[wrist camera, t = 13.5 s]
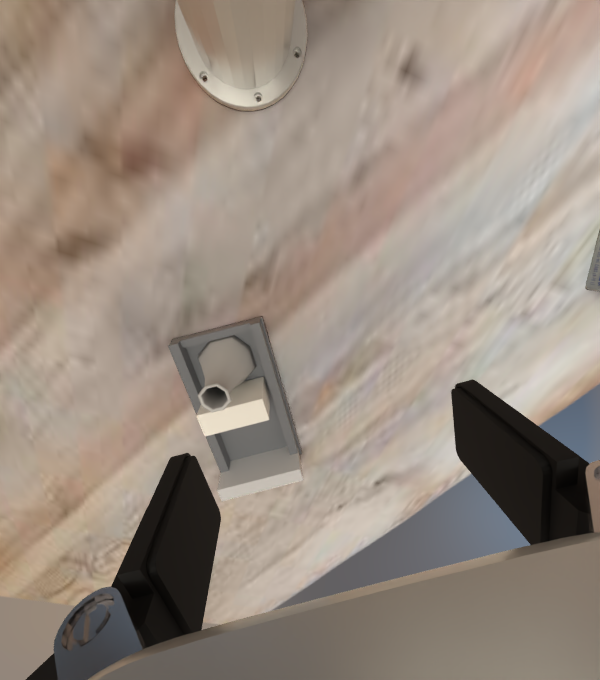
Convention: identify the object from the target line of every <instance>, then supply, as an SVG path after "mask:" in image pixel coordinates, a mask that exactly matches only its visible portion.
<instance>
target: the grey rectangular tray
mask: <svg viewBox="0 0 600 680" xmlns="http://www.w3.org/2000/svg"><path fill="white" fill-rule="evenodd" d="M232 335H234V336H236V337H237V338H238V339H240V340H241V341H243V342H244V343H245V344H247V345H248V346H250V347H251V351H252V354H253V357H254V360H255V364H256V368H255V369H254V370H253V371H252V372H251V374H250V375H249V376H248V377H247V378H246V380H245V381H248V380H252V379H256V378H260V377H264V379H265V382H266V385H267V388H268V392H269V395H270V406H269V420H267V421H263V422H260V423H256V424H252V425H248V426H244V427H240V428H236V429H232V430H228V431H225V432H221V433H217V434H213V435H209V436H206V438H207V441H208V443H209V446H210V448H211V450H212V453H213V455H214V458H215V460H216V462H217V465H218V467H219V470H220V472H221V474H220V479H219V484H218V488H217V491H218V494H219V496H220V498H221V501H226V500H230V499H233V498H237V497H241V496H245V495H249V494H253V493H257V492H261V491H265V490H268V489H272V488H276V487H280V486H284V485H288V484H292V483H296V482H300V481H303V473H302V465H301V457H300V455H301V454H302V450H301V447H300V443H299V440H298V437H297V433H296V430H295V426H294V423H293V419H292V416H291V413H290V409H289V406H288V402H287V399H286V396H285V392H284V389H283V385H282V382H281V378H280V375H279V372H278V368H277V365H276V361H275V358H274V355H273V351H272V348H271V344H270V341H269V337H268V334H267V331H266V327H265V324H264V320H263V317H262V316H261V317H257V318H254V319H250V320H246V321H242V322H238V323H234V324H230V325H226V326H222V327H218V328H215V329H211V330H207V331H203V332H199V333H195V334H191V335H187V336H183V337H180V338H176V339H172V340H171V343H170V345H169V346H168V347H169V350H170V352H171V354H172V357H173V359H174V362H175V364H176V366H177V369H178V371H179V374H180V376H181V378H182V381H183V383H184V386H185V388H186V390H187V393H188V395H189V398H190V400H191V402H192V405H193V407H194V410H195V412H196V414H197V413H198V410H199V408H200V405H201V403H200V401H199V398H198V394H199V393H200V391H201V390H202V389H203V388H204V387H205V377H204V374H203V370H202V367H201V364H200V362H199V359H198V355H199V354H200V352H201V351H202V350H203V348H204V347H205V346H206V345H207V343H208V342H209V341H213V340H217V339H221V338H225V337H228V336H232Z"/></svg>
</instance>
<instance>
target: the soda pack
mask: <svg viewBox="0 0 600 680" xmlns="http://www.w3.org/2000/svg"><path fill="white" fill-rule="evenodd" d="M585 288H586V289H587V290H594V291H599V292H600V231H599V235H598V239H597V243H596V247H595V251H594V255H593V258H592V262H591V266H590V270H589V274H588V278H587V281H586V287H585Z"/></svg>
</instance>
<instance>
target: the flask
mask: <svg viewBox="0 0 600 680" xmlns="http://www.w3.org/2000/svg"><path fill="white" fill-rule="evenodd" d="M198 359H199V362H200V364H201V367H202V370H203V374H204V377H205V387H204V388H203V389H202V390H201V391H200V393H199V394H198V398H199V401H200V403H201V406H202V407H204V408H205V409H207V410H209V411H210V412H212V413H213V412H217V411H221V410H224V409H225V408H226V407H227V406H228V404H229V403H230V402H231V400H232V399H231V396H230V392H231V390H232V389H234V388H235V387H236V386H238V385H240V384H241V383H243V382H244V381H245V380H246V378H247V377H248V376H249V375H250V374H251V372H252V371H253V370H254V369H255V368H256V364H255V360H254V357H253V354H252V351H251V347H250V346H248V345H247V344H245V343H244V342H243V341H241V340H240V339H238V338H237V337H236V336H234V335H232V336H228V337H225V338H221V339H217V340H213V341H209V342H208V343H207V345H206V346H205V347H204V348H203V350H202V351H201V352H200V354H199V355H198Z"/></svg>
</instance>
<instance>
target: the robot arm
mask: <svg viewBox="0 0 600 680" xmlns="http://www.w3.org/2000/svg"><path fill="white" fill-rule="evenodd" d="M174 17H175V31H176V36H177V40H178V45H179V48H180V51H181V53H182V56H183V59H184V61H185V63H186V65H187V67H188V69H189V71H190V73H191V74H192V76H193V77H194V79H195V80H196V82H197V83H198V85H199V86H200V87H201V88H202V89H203V90H204V91H205V92H206V93H207V94H208V95H209V96H211V97H212V98H213V99H215V100H216V101H217V102H219V103H221V104H223V105H225V106H227V107H229V108H233V109H237V110H241V111H255V110H260V109H264V108H266V107H269V106H271V105H273V104H275V103H276V102H277V101H279V100H280V99H282V98H283V97H284V96H285V95H286V94H287V93H288V91H289V90H290V89H291V88H292V86H293V85H294V83H295V81H296V80H297V78H298V76H299V74H300V71H301V68H302V66H303V62H304V58H305V53H306V46H307V38H308V37H307V19H306V13H305V8H304V4H303V1H302V0H176V2H175V13H174ZM295 55H298V56H299V58H296V57H294V56H295ZM204 78H207V79H208V80H207V81H206V82H204V81H203V79H204ZM257 98H260V99H261V102H257V101H256V99H257ZM451 394H452V406H453V418H454V431H455V443H456V451H457V454H458V457H459V458H460V460H461V461H462V462H463V464H464V465H465V466H466V467H467V468H468V470H469V471H470V472H471V473H472V474H473V476H474V477H475V478H476V479H477V480H478V482H479V483H480V484H481V485H482V487H483V488H484V489H485V490H486V491H487V493H488V494H489V495H490V496H491V497H492V499H493V500H494V501H495V502H496V503H497V504H498V505H499V507H500V508H501V509H502V510H503V512H504V513H505V514H506V515H507V517H508V518H509V519H510V520H511V521H512V523H513V524H514V525H515V526H516V527H517V529H518V530H519V531H520V532H521V533H522V535H523V536H524V537H525V538H526V539H527V541H528V542H529V543H530V544H531V545H530V546H525V547H521V548H517V549H512V550H508V551H504V552H500V553H496V554H492V555H488V556H484V557H480V558H476V559H472V560H468V561H464V562H460V563H456V564H452V565H448V566H444V567H440V568H436V569H432V570H428V571H424V572H420V573H416V574H413V575H408V576H405V577H401V578H397V579H393V580H389V581H385V582H381V583H377V584H373V585H370V586H366V587H362V588H358V589H354V590H350V591H346V592H342V593H339V594H335V595H331V596H327V597H323V598H319V599H315V600H312V601H308V602H304V603H301V604H297V605H293V606H289V607H286V608H281V609H278V610H274V611H270V612H266V613H262V614H259V615H255V616H251V617H247V618H244V619H240V620H236V621H232V622H229V623H225V624H222V625H218V626H215V627H211V628H208V629H204V630H201V629H202V623H203V617H204V612H205V606H206V601H207V595H208V589H209V584H210V578H211V573H212V567H213V561H214V556H215V550H216V545H217V539H218V533H219V528H220V522H221V516H220V511H219V508H218V506H217V504H216V502H215V499H214V497H213V495H212V493H211V490H210V488H209V486H208V484H207V481H206V479H205V477H204V474H203V472H202V470H201V468H200V465H199V463H198V461H197V459H196V457H195V456H191V455H190V454H189V453H185V454H182V455H178V456H174V457H171V458H170V460H169V462H168V464H167V466H166V468H165V471H164V473H163V475H162V477H161V479H160V482H159V484H158V486H157V488H156V490H155V493H154V495H153V497H152V499H151V501H150V504H149V506H148V508H147V509H146V511H145V514H144V516H143V518H142V520H141V522H140V525H139V527H138V529H137V531H136V533H135V536H134V538H133V540H132V542H131V544H130V547H129V549H128V551H127V553H126V555H125V558H124V560H123V562H122V564H121V566H120V568H119V571H118V573H117V575H116V577H115V579H114V582H113V584H112V586H111V587H105V588H101V589H99V590H97V591H95V592H93V593H91V594H90V595H88V596H87V597H86V598H84V599H83V600H82V601H81V602H80V603H79V604H77V605H76V606H75V607H74V608H73V610H72V611H71V612H70V613H69V614H68V616H67V617H66V618H65V620H64V621H63V623H62V625H61V626H60V628H59V630H58V633H57V635H56V638H55V640H54V654H53V655H51V656H50V657H49V658H48V659H47V660H46V661H45V662H44V663H43V664H42V665H41V666H40V667H39V668H38V669H37V670H35V671H34V672H33V673H32V674H31V675H30V676H29V677H28V678H27V679H26V680H600V460H598V461H595V462H592V463H590V464H589V463H588V462H587V461H585V460H584V459H582V458H581V457H580V456H579V455H577V454H576V453H574V452H573V451H572V450H570V449H569V448H568V447H566V446H564V445H563V444H562V443H561V442H559V441H558V440H557V439H555V438H554V437H552V436H551V435H550V434H548V433H547V432H545V431H544V430H542V429H541V428H540V427H539V426H537V425H536V424H534V423H533V422H532V421H530V420H529V419H528V418H526V417H525V416H523V415H522V414H521V413H519V412H518V411H517V410H515V409H514V408H512V407H511V406H510V405H508V404H507V403H506V402H504V401H503V400H501V399H500V398H499V397H497V396H496V395H494V394H493V393H492V392H490V391H489V390H488V389H486V388H485V387H483V386H482V385H481V384H479V383H478V382H477V381H475V380H469V381H466V382H462V383H458V384H456V386H455V389H452V392H451Z"/></svg>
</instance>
